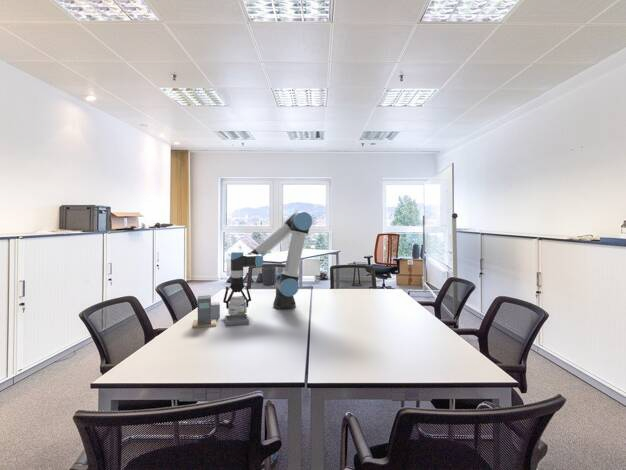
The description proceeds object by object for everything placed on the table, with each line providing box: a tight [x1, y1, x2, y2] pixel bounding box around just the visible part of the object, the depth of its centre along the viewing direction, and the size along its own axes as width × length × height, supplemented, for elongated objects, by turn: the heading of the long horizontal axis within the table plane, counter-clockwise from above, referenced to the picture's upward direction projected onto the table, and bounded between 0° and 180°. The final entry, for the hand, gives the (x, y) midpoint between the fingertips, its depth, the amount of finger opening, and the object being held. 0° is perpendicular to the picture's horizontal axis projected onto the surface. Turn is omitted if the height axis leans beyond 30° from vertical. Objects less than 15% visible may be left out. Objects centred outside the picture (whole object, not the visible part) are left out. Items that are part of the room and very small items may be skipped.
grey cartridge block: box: [211, 301, 221, 319], centre depth 205 cm, size 5×6×8 cm
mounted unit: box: [192, 295, 217, 329], centre depth 190 cm, size 12×12×15 cm
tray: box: [224, 313, 250, 327], centre depth 194 cm, size 12×13×2 cm
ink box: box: [229, 294, 246, 315], centre depth 209 cm, size 9×5×12 cm, turn 86°
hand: (237, 313), depth 209 cm, fingers closed on ink box, 9 cm apart
